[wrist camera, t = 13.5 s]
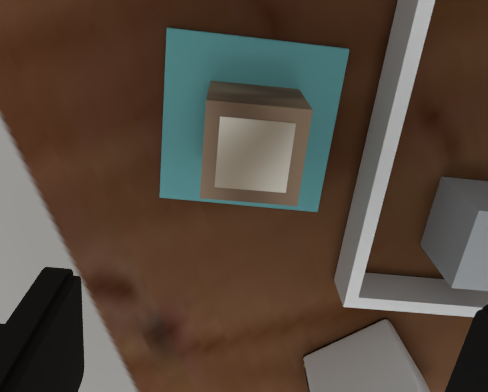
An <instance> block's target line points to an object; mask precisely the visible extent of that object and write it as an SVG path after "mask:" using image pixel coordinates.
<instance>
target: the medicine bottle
mask: <svg viewBox="0 0 488 392" xmlns="http://www.w3.org/2000/svg"><path fill="white" fill-rule="evenodd" d="M303 364H304V369H305V375H306V380H307V385H308V391H309V392H430V390H429V388H428V386H427V384H426V382H425V380H424V378H423V376H422V375H421V373H420V371H419V370H418V368H417V366H416V364H415V363H414V361H413V359H412V358H411V356H410V354H409V353H408V351H407V349H406V348H405V346H404V344H403V343H402V341H401V339H400V337H399V336H398V334H397V332H396V331H395V329H394V327H393V326H392V324H391V322H390V321H389V320H387V319H384V320H382V321H379V322H377V323H375V324H373V325H371V326H369V327H367V328H364V329H362V330H360V331H358V332H356V333H354V334H352V335H349V336H347V337H345V338H343V339H341V340H339V341H337V342H334V343H332V344H330V345H328V346H326V347H324V348H322V349H319V350H317V351H315V352H313V353H311V354H309V355H307V356H305V357H304V358H303Z"/></svg>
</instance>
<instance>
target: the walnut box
mask: <svg viewBox="0 0 488 392" xmlns="http://www.w3.org/2000/svg"><path fill="white" fill-rule="evenodd" d="M312 112H313V109H312V108H311V106H310V105H309V103H308V102H307V100H306V99H305V97H304V96H303V94H302V93H301V91H300V90H299V89H294V88H283V87H273V86H262V85H252V84H241V83H231V82H220V81H211V82H210V86H209V90H208V94H207V98H206V109H205V124H204V139H203V155H202V170H201V186H200V198H202V199H214V200H227V201H239V202H252V203H264V204H277V205H289V206H298V199H299V193H300V187H301V181H302V174H303V168H304V162H305V156H306V150H307V143H308V137H309V131H310V125H311V118H312Z"/></svg>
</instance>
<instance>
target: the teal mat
mask: <svg viewBox="0 0 488 392" xmlns="http://www.w3.org/2000/svg"><path fill="white" fill-rule="evenodd" d="M349 50H350V49H348V48H341V47H332V46H324V45H315V44H306V43H298V42H289V41H281V40H272V39H264V38H255V37H246V36H238V35H229V34H221V33H212V32H204V31H195V30H186V29H178V28H169V27H168V28H167V32H166V56H165V80H164V104H163V128H162V152H161V176H160V198H171V199H181V200H192V201H203V202H214V203H225V204H235V205H246V206H257V207H268V208H279V209H289V210H300V211H311V212H318V207H319V202H320V197H321V192H322V187H323V182H324V176H325V171H326V166H327V161H328V156H329V151H330V146H331V141H332V136H333V131H334V126H335V121H336V116H337V111H338V105H339V100H340V95H341V90H342V85H343V80H344V75H345V70H346V65H347V60H348V55H349ZM211 81H220V82H231V83H241V84H252V85H262V86H273V87H283V88H294V89H299V90H300V91H301V93H302V94H303V96H304V97H305V99H306V100H307V102H308V103H309V105H310V106H311V108H312V109H313V112H312V118H311V125H310V131H309V137H308V143H307V150H306V156H305V162H304V168H303V174H302V181H301V187H300V193H299V199H298V206H289V205H277V204H264V203H252V202H239V201H227V200H214V199H202V198H200V186H201V170H202V155H203V139H204V124H205V109H206V98H207V94H208V90H209V86H210V82H211Z"/></svg>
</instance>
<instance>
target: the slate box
mask: <svg viewBox="0 0 488 392" xmlns="http://www.w3.org/2000/svg"><path fill="white" fill-rule="evenodd" d="M420 246H421V247H422V248H423V250H424V251H425V253H426V254H427V255H428V257H429V258H430V259H431V261H432V262H433V264H434V265H435V266H436V268H437V269H438V270H439V272H440V273H441V275H442V276H443V277H444V279H445V280H446V281H447V283H448V284H449V285H450V287H451V288H457V289H469V290H481V291H488V181H480V180H470V179H460V178H450V177H441V179H440V182H439V185H438V188H437V191H436V195H435V198H434V201H433V204H432V208H431V211H430V214H429V217H428V221H427V224H426V227H425V230H424V233H423V237H422V240H421V243H420Z"/></svg>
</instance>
